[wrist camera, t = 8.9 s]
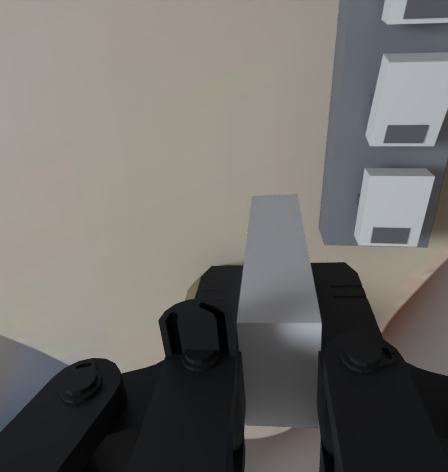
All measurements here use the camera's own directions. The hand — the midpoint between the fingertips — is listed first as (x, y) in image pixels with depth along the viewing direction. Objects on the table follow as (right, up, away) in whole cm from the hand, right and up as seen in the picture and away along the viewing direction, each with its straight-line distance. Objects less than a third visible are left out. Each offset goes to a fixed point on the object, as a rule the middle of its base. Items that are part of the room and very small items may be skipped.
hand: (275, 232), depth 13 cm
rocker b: (+11, +9, +14) cm, 20 cm away
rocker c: (+12, +2, +17) cm, 21 cm away
